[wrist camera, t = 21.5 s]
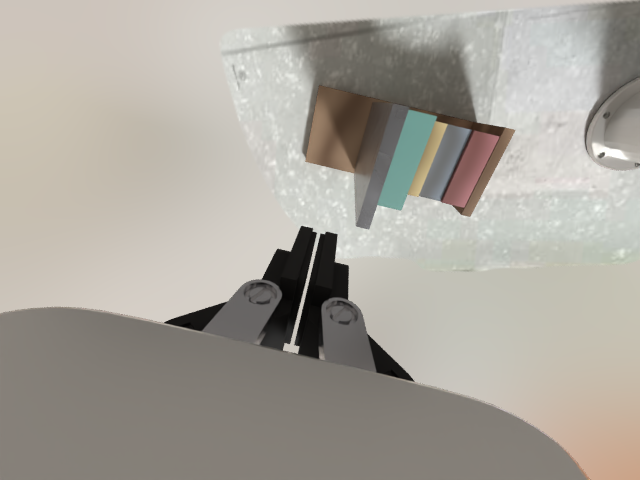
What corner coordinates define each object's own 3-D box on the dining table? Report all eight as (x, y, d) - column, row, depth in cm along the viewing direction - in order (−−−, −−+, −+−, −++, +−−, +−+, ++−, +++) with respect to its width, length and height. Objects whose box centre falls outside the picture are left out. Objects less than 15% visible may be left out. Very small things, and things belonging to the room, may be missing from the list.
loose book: (408, 111, 39) (437, 116, 26) (386, 178, 43) (401, 210, 31) (382, 104, 39) (397, 106, 26) (362, 172, 43) (367, 202, 31)
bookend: (380, 104, 38) (409, 107, 19) (361, 172, 43) (369, 229, 24) (372, 102, 38) (393, 103, 19) (354, 170, 43) (355, 226, 24)
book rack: (477, 123, 40) (515, 130, 30) (445, 192, 45) (470, 216, 36) (320, 85, 40) (310, 81, 30) (306, 159, 45) (294, 175, 36)
